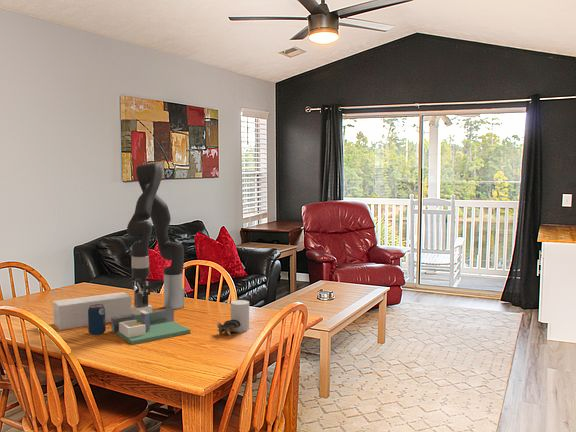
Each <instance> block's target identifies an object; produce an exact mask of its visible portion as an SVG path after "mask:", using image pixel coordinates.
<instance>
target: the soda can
mask: <svg viewBox="0 0 576 432" xmlns="http://www.w3.org/2000/svg"><path fill="white" fill-rule="evenodd" d="M106 323H107V322H105V308H104V305H102V304H95V305H91V306H89V309H88V325H87V326H88V327H87V329H88V333H89V335H90V336H95V337H96V336H102V335H103V334H105V332H106V329H107V328H106Z"/></svg>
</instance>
